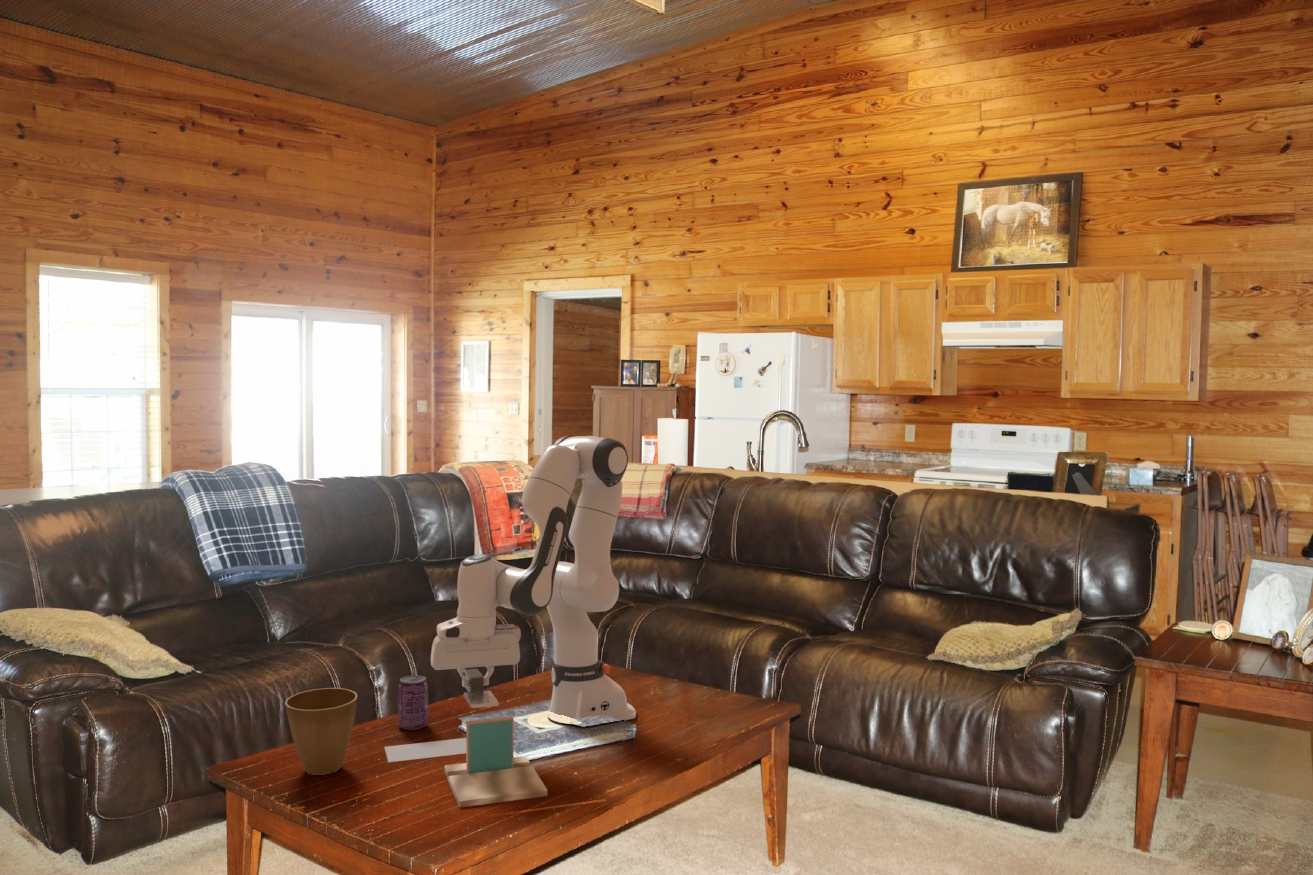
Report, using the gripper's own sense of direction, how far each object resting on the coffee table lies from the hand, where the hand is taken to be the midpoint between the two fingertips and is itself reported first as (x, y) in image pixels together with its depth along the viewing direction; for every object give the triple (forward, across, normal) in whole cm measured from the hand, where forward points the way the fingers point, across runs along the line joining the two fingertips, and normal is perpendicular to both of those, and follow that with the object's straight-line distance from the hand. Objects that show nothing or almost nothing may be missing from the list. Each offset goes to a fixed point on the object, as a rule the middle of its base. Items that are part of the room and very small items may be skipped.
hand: (475, 685), depth 234 cm
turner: (+2, 0, +3) cm, 3 cm away
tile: (+15, 0, +16) cm, 22 cm away
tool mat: (+15, +8, -3) cm, 18 cm away
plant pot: (+16, +34, +1) cm, 37 cm away
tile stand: (+15, 0, +21) cm, 26 cm away
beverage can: (+15, +12, -21) cm, 28 cm away
